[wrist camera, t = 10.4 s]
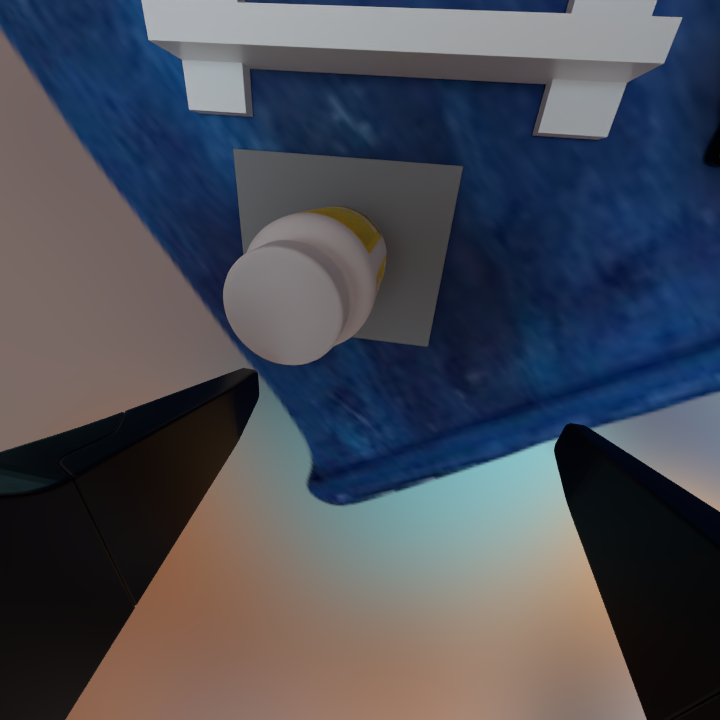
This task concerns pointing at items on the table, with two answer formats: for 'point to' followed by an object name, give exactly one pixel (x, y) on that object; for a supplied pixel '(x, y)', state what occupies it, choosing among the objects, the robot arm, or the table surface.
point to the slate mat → (381, 204)
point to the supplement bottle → (305, 284)
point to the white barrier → (420, 50)
